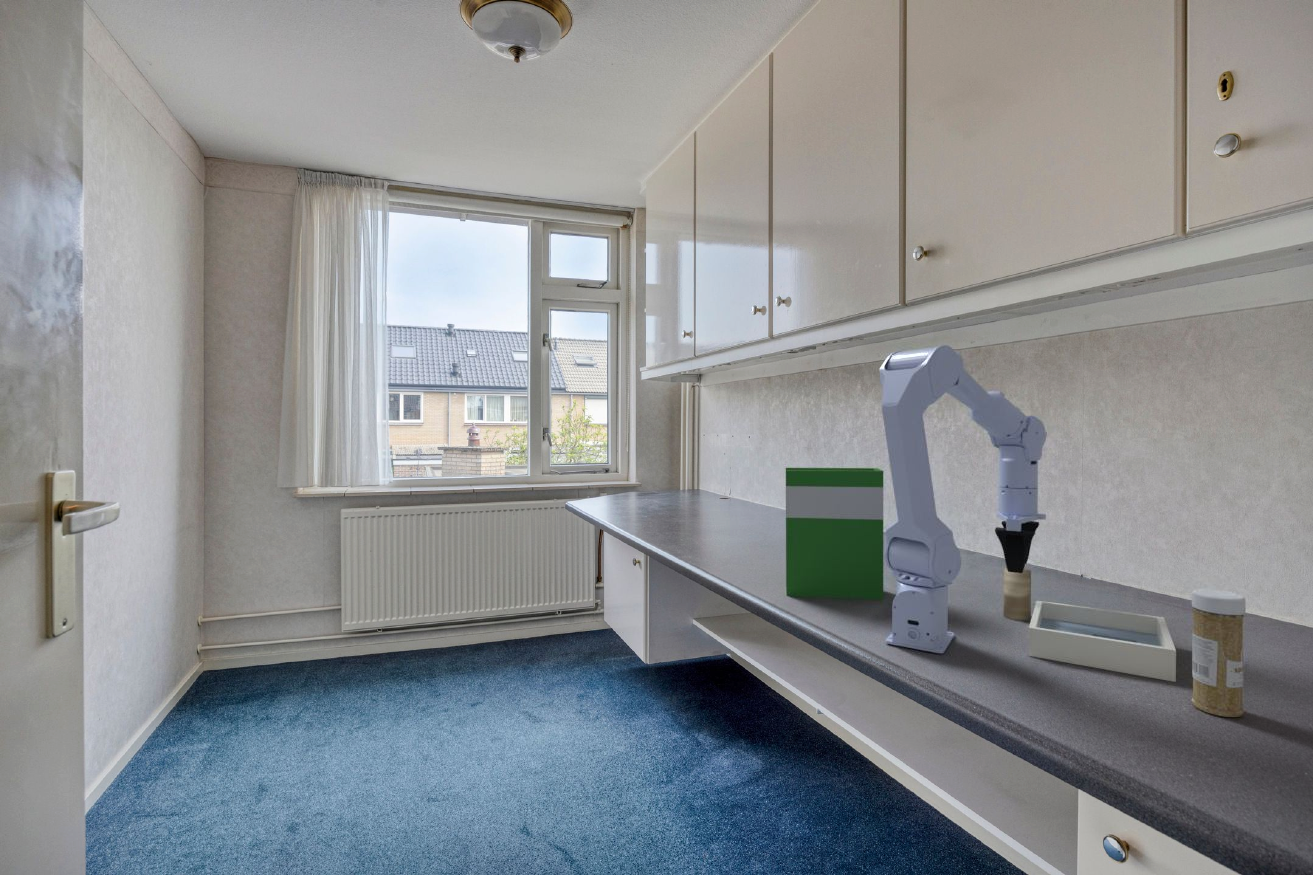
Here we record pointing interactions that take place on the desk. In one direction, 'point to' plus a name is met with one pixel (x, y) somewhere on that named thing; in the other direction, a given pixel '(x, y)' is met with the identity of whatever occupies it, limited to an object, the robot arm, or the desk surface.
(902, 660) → the desk surface
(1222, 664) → the sprinkles bottle
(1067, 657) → the box
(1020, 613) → the wooden cylinder
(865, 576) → the hardback book
